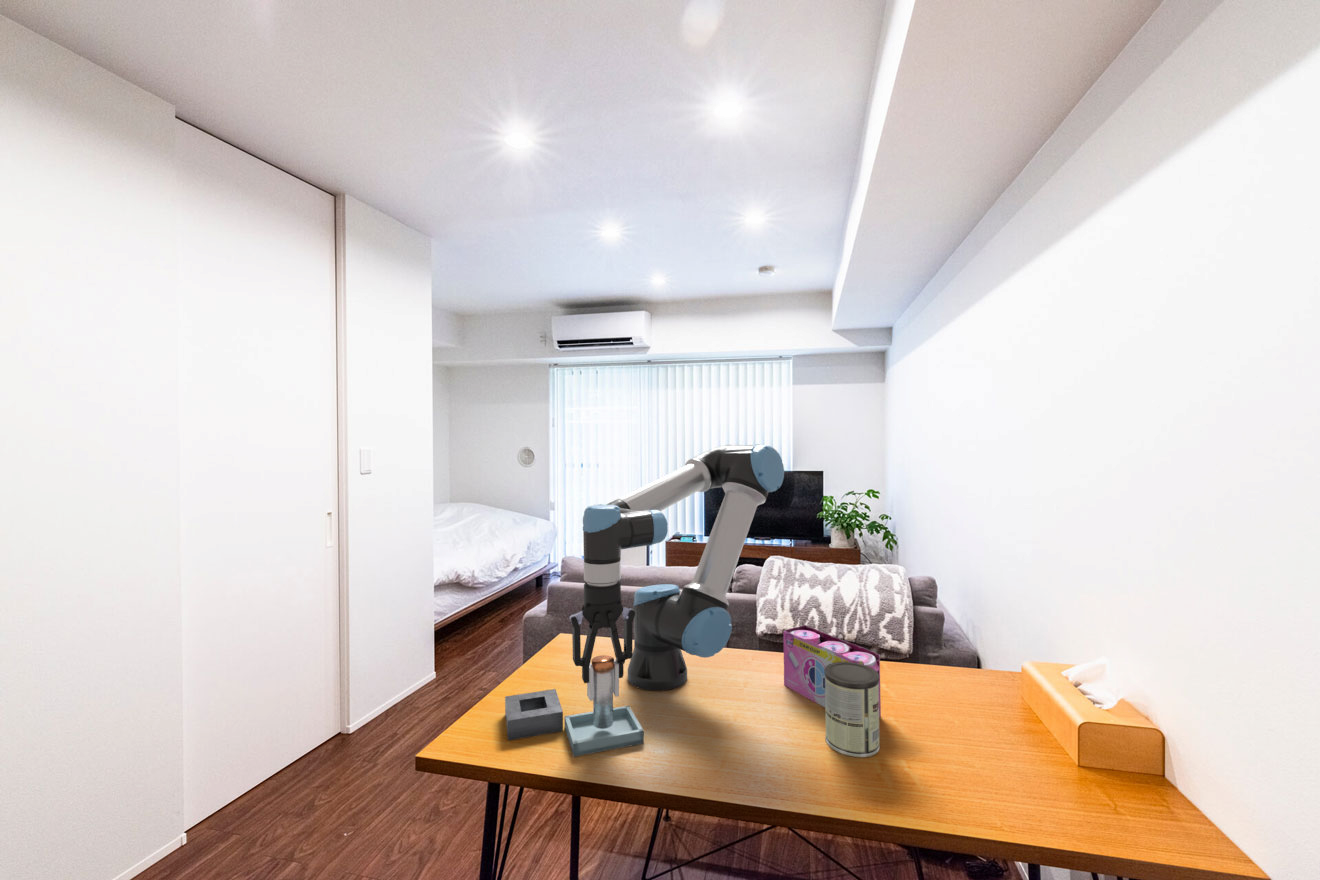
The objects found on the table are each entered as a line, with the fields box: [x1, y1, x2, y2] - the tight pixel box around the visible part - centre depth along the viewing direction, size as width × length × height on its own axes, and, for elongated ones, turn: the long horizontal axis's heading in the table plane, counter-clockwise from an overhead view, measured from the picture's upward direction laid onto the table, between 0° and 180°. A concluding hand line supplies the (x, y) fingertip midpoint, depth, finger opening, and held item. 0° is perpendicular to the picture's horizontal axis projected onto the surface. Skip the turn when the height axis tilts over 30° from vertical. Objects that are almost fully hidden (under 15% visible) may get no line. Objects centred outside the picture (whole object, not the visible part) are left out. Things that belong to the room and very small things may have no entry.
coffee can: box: [824, 662, 881, 758], centre depth 108 cm, size 10×10×14 cm
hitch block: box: [504, 688, 564, 741], centre depth 116 cm, size 11×11×4 cm
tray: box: [564, 705, 645, 757], centre depth 111 cm, size 14×11×2 cm
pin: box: [591, 654, 615, 729], centre depth 111 cm, size 5×5×13 cm
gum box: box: [782, 625, 882, 718], centre depth 125 cm, size 24×8×14 cm, turn 30°
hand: (603, 695), depth 111 cm, fingers closed on pin, 5 cm apart
